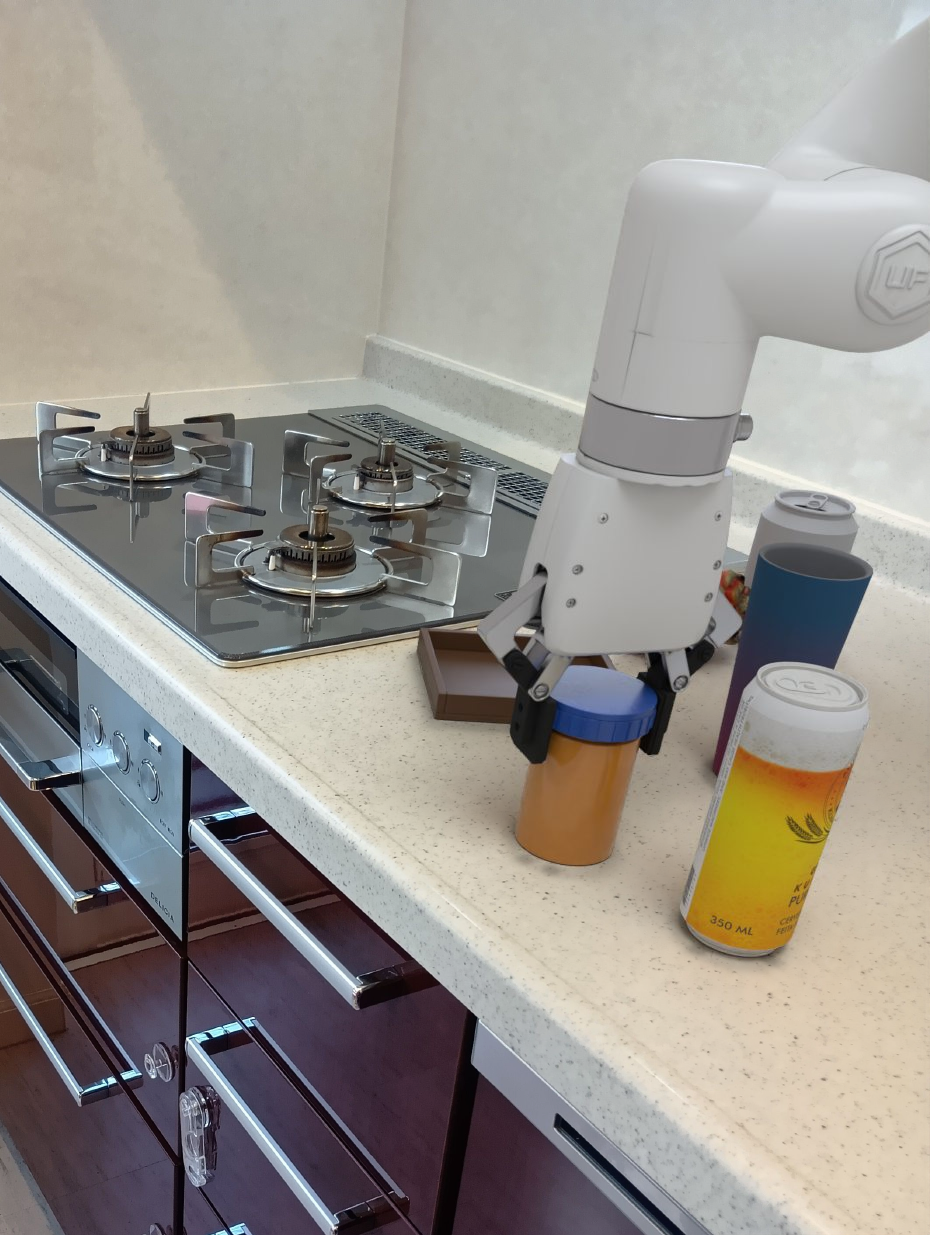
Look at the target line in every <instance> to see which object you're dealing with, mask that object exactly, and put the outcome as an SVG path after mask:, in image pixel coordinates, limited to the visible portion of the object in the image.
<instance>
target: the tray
mask: <svg viewBox="0 0 930 1235" xmlns="http://www.w3.org/2000/svg"><path fill="white" fill-rule="evenodd" d="M533 635H534V633H518V632H516V634H515V636H514V640H515V642H516V644H517V645H518V647H519V648H520V650H521V651H522V652H523V650H524V649H525V647H526V646H527V644H528V643H529V641H530V639H531V638H532V636H533ZM416 653H417V657H418V661H419V664H420V669H421V672H422V676H423V681H424V683H425V687H426V691H427V694H428V695H427V696H428V699H429V703H430V706H431V709H432V713H433V717H434V719H435V720H443V721H444V720H445V721H447V720H448V721H461V722H462V721H463V722H478V723H479V722H480V723H498V724H511V719H512V714H513V709H514V703H515V698H516V693H517V688H518V684H517V682H516V681H515V680H513V678H512V677H511V675H510V674H509V673H508V672H507V671H506V670H505V668H504V667H503V666H502V665H501V664H500V662H499V661H498V660H497V659H496V657H495V655H494V654H493V653H492V651H491V650H490V649H489V648H488V646H487V645H486V643H485V642H484V641H483V639H482V638H481V637H480V635H479V634H478V632H477V630H470V629H469V630H468V629H466V630H465V629H452V628H450V629H448V628H435V627H433V628H432V627H420V628H419V632H418V638H417V647H416ZM549 653H550V652H549ZM549 653H548V654H549ZM547 656H548V655H547ZM547 656H546V657H547ZM545 659H546V658H545ZM544 661H545V660H544ZM544 661H543V662H544ZM542 664H543V663H542ZM542 664H541V665H542ZM569 666H594V667H601V668H606V669H611V670H615V671H618V670H617V668H616V667H615V665H614V663H613V660H611V657H610V655H592V656H575V657H574V659H573V660H572V662H571V663H570V665H569ZM540 667H541V666H540ZM540 667H539V668H540ZM538 670H539V669H538Z"/></svg>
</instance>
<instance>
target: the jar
mask: <svg viewBox="0 0 930 1235" xmlns="http://www.w3.org/2000/svg"><path fill="white" fill-rule="evenodd" d="M641 738H642V737H640V738H638V739H634V740H630V741H626V742H597V741H591V740H585V739H580V738H577V737H573V736H570V735H567V734H564V733H562V732H559V731H557V730H555V729H552V733H551V738H550V743H549V748H548V752H547V757H546V760H545V761H543V763H542V764H532V763H531V762H530V761H529V760H528V764H527V768H526V773H525V779H524V784H523V787H522V788H523V789H522V794H521V798H520V803H519V808H518V813H517V818H516V823H515V828H514V836H515V838H516V841H517V842H518V843H519V845H520V846H521V847H522V848H523V849H524V850H526V851H527V852H529V853H531V854H532V855H533V856H535V857H538V858H540V859H542V860H545V861H548V862H552V863H555V864H560V865H567V866H590V865H595V864H599V863H602V862H604V861H605V860H607V859H608V858H609V857H610V856H612V854H613V852H614V848H615V845H616V840H617V836H618V832H619V830H620V829H619V828H620V825H621V820H622V817H623V812H624V809H625V806H626V801H627V797H628V793H629V789H630V785H631V781H632V777H633V773H634V770H635V765H636V761H637V757H638V753H639V750H640V748H639V746H640V742H641Z"/></svg>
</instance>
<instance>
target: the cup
mask: <svg viewBox="0 0 930 1235" xmlns="http://www.w3.org/2000/svg"><path fill="white" fill-rule="evenodd" d="M873 575H874V568H873V567H872V565H871V564H870V563H869V562H867V561H866V560H864V559H863V558H861V557H858V556H857V555H854V554H852V553H850V554H849V553H846V552H843V551H840V550H837V549H833V548H829V547H824V546H819V545H813V544H805V543H792V542H784V543H773V544H769V545H766V546H763V547H762V548H761V549H760V550H759V554H758V558H757V563H756V567H755V572H754V577H753V581H752V586H751V590H750V595H749V600H748V604H747V609H746V613H745V618H744V623H743V627H742V632H741V636H740V638H739V639H740V641H739V643H738V645H737V651H736V655H735V660H734V663H733V669H732V673H731V679H730V682H729V688H728V692H727V695H726V696H727V697H726V701H725V705H724V710H723V714H722V715H723V716H722V718H721V719H722V720H721V724H720V728H719V734H718V739H717V742H716V748H715V751H714V757H713V761H712V766H711V768H712V771H713V772H714V774H715V775H716V776H718V775H719V771H720V768H721V765H722V761H723V758H724V755H725V751H726V748H727V744H728V741H729V738H730V734H731V731H732V727H733V724H734V721H735V717H736V714H737V710H738V707H739V704H740V700H741V697H742V693H743V690H744V688H745V687H746V686H747V685H748V684H749V683H750V682H751V681H752V680H753V679H754V677H755V676H756V675H757V672H758V670H759V669H760V668H761V667H763V666H765V665H767V664H771V663H777V662H799V663H807V664H813V665H818V666H822V667H826V668H829V669H833V670H835V668H836V665H837V664H838V661H839V658H840V656H841V653H842V651H843V648H844V646H845V644H846V642H847V638H848V636H849V634H850V632H851V630H852V626H853V624H854V621H855V619H856V618H857V614H858V612H859V609H860V607H861V604H862V602H863V600H864V597H865V595H866V593H867V590H868V588H869V585H870V582H871V580H872V577H873Z"/></svg>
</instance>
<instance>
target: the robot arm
mask: <svg viewBox="0 0 930 1235" xmlns="http://www.w3.org/2000/svg"><path fill="white" fill-rule="evenodd" d="M602 316H603V317H602V322H601V325H600V326H601V327H600V332H599V337H598V342H597V347H596V352H595V358H594V362H593V368H592V373H591V379H590V382H589V387H588V394H587V398H586V404H585V409H584V413H583V419H582V424H581V430H580V434H579V439H578V444H577V449H576V452H569V453H568V452H567V453H563V454H561V456H560V458H559V460H558V462H557V463H556V466H555V469H554V471H553V473H552V476H551V478H550V480H549V483H548V485H547V488H546V490H545V492H544V495H543V498H542V501H541V504H540V506H539V510H538V513H537V516H536V519H535V522H534V525H533V529H532V531H531V532H532V533H531V535H530V538H529V539H530V540H529V542H528V546H527V550H526V554H525V556H524V557H525V558H524V562H523V566H522V570H521V573H520V578H519V582H518V587H517V590H516V591H515V592H514V593H513V594H512V595H510V596H509V597H508V598H507V599H506V600H504V601H503V602H502V603H500V605H498V606H497V607H496V608H495V609H494V610H493V611H491V612H490V613H488V615H486V616H485V617H484V618H483V619H482V620H480V622H479V623H478V625H477V626H476V631H477V632H478V634H479V635H480V637H481V638H482V639H483V641H484V642H485V643H486V645H487V646H488V648H489V649H490V650H491V651H492V653H493V654H494V655H495V657H496V659H497V660H498V661H499V662H500V664H501V665H502V666H503V667H504V668H505V670H506V671H507V672H508V673H509V674H510V675H511V677H512V678H513V680H515V681H516V682H517V684H518V688H517V693H516V698H515V703H514V709H513V714H512V719H511V723H509V724H510V725H509V736H510V739H511V741H512V743H513V745H514V746H515V747H516V748H517V749H518V751H519V752H520V753H521V754H522V755H523V756H524V757H525V758H526V759H527V760H528V762H529V761H530V762H531V763H532V764H542V763H543V761H545V760H546V757H547V752H548V748H549V743H550V738H551V733H552V729H553V724H554V719H555V714H556V710H557V703H556V701H555V700H554V699H553V698H552V697H551V696H550V693H551V692H552V690H553V689H554V687H555V686H556V684H557V683H558V681H559V680H560V678H561V677H562V675H563V674H564V672H565V671H566V669H567V668H568V666H569V665H570V663H571V662H572V660H573V659H574V657H575V656H592V655H608V656H612V655H629V654H644V658H645V663H646V668H647V671H638V673H637V676H636V677H635V678H637V679H639V680H641V681H642V682H644V683H645V684H647V685H648V686H649V687H650V688H651V689H653V690H654V692H655V693H656V695H657V705H656V709H655V710H656V714H655V718H654V722H653V726H652V728H650V730H649V731H648V734H645V735H644V736H642V738H641V742H640V746H639V750H640V751H641V752H643V753H644V754H646V755H647V756H658V755H659V754H660V751H661V748H662V744H663V740H664V736H665V734H666V733H667V731H668V727H669V724H670V719H671V716H672V714H673V710H674V709H673V708H674V705H675V701H676V697H677V693H682V692H684V691H685V690H686V689H688V688H689V686H690V683H691V677H692V676H694V674H696V673H697V672H698V671H699V670H700V669H701V668H703V666H705V665H706V664H707V663H708V662H709V661H710V660H711V659H713V657H714V656H715V653H716V649H720V648H721V647H722V646H723V645H725V644H724V643H725V642H726V641H727V640H728V639H729V638H730V637H731V636H732V635H733V634H734V633H736V632H737V631H738V630H739V628H740V627H741V625H742V618H741V617H740V615H739V614H738V613H737V612H736V610H735V609H734V608H733V606H732V605H731V604H730V602H729V601H728V600H727V599H726V597H725V596H724V595H723V593H722V592H721V591H720V590H719V584H720V580H721V575H722V571H724V564H725V559H726V554H727V547H728V542H729V535H730V526H731V520H732V519H731V518H732V507H733V506H732V505H733V493H734V492H733V489H734V486H733V483H734V480H733V479H734V473H733V471H732V470H731V469H730V468H729V467H728V466H727V465H728V461H729V459H730V456H731V452H732V448H733V445H734V444H735V443H736V442H744V441H747V440H748V439H749V438H750V437H751V435H752V433H753V430H754V420H753V417H752V416H751V414H748V413H742V407H743V404H744V400H745V396H746V392H747V388H748V385H749V381H750V377H751V373H752V369H753V365H754V362H755V357H756V353H757V351H758V346H759V343H760V338H762V337H774V338H779V339H784V340H790V341H794V342H799V343H803V344H808V345H812V346H816V347H820V348H826V349H830V350H835V351H840V352H845V353H855V354H869V353H870V354H871V353H879V352H884V351H889V350H893V349H895V348H900V347H902V346H904V345H908V344H909V343H912V342H914V341H916V340H918V339H919V338H921V337H924V336H925V335H926V334H928V333H929V332H930V15H928V16H927V17H925V18H924V19H923V20H921V21H920V22H919V23H918V24H916V25H915V26H913V27H912V28H911V29H909V30H908V31H907V32H905V33H904V34H903V35H902V36H900V37H899V38H898V39H896V40H895V41H894V42H893V43H891V44H890V45H888V46H887V47H886V48H885V49H884V50H882V51H881V52H880V53H879V54H878V55H876V56H875V57H874V58H873V59H871V60H870V61H869V62H867V64H866V65H865V66H864V67H862V68H861V69H860V70H859V71H858V72H857V73H856V74H855V75H853V76H852V78H850V79H849V80H848V81H847V82H846V83H845V84H844V85H843V86H842V87H841V88H840V89H839V90H838V91H837V92H836V93H835V94H834V95H833V96H832V97H831V98H830V99H829V100H828V101H827V102H825V104H823V106H822V107H821V108H819V110H818V111H817V112H816V113H815V114H814V115H813V116H812V117H810V119H809V120H808V121H807V122H806V123H805V124H804V125H803V126H802V127H801V128H800V130H799V131H797V133H795V134H794V135H793V136H792V138H791V139H790V140H789V141H788V142H787V143H786V144H784V146H783V147H782V148H781V149H780V150H779V151H778V152H777V153H776V155H775V156H774V157H773V158H772V159H770V161H769V162H768V163H767V164H766V165H765V166H764V167H762V166H758V165H753V164H752V165H751V164H745V163H739V162H738V163H737V162H729V161H719V160H707V159H692V158H672V159H661V160H658V161H654V162H651V163H649V164H648V165H646V166H645V167H643V168H642V169H641V170H640V171H639V173H637V175H636V176H635V177H634V179H633V182H632V184H631V185H630V188H629V190H628V193H627V198H626V201H625V206H624V209H623V215H622V220H621V225H620V229H619V235H618V240H617V246H616V250H615V256H614V260H613V266H612V271H611V276H610V281H609V287H608V291H607V296H606V301H605V307H604V311H603V315H602ZM522 628H525V629H526V630H527V629H528V630H533V631H535V632H534V633H533V634H534V635H533V636H532V638H531V639H530V641H529V643H528V644H527V646H526V647H525V649H524V650H523V652H522V651H521V650H520V648H519V647H518V645H517V644H516V642H515V640H514V636H515V634H516V633H518V631H519V630H520V629H522ZM717 647H718V648H717ZM549 652H550V653H549ZM548 653H549V654H548ZM547 655H548V656H547ZM546 656H547V657H546ZM545 658H546V659H545ZM544 660H545V661H544ZM543 661H544V662H543ZM542 663H543V664H542ZM541 664H542V665H541ZM540 666H541V667H540ZM539 667H540V668H539ZM538 669H539V670H538Z"/></svg>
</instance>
